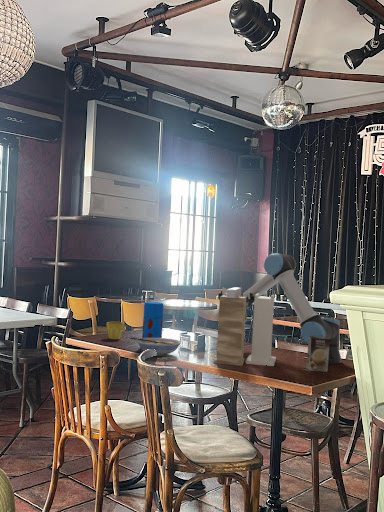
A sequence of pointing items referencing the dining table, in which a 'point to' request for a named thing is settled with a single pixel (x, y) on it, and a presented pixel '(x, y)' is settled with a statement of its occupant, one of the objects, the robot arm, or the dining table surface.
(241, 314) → the oak stand
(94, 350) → the dining table surface
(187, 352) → the dining table surface
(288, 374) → the dining table surface
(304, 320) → the robot arm
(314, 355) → the coffee box
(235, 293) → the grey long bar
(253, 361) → the post
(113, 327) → the plant pot
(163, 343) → the ramen bowl
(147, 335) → the blue carton
